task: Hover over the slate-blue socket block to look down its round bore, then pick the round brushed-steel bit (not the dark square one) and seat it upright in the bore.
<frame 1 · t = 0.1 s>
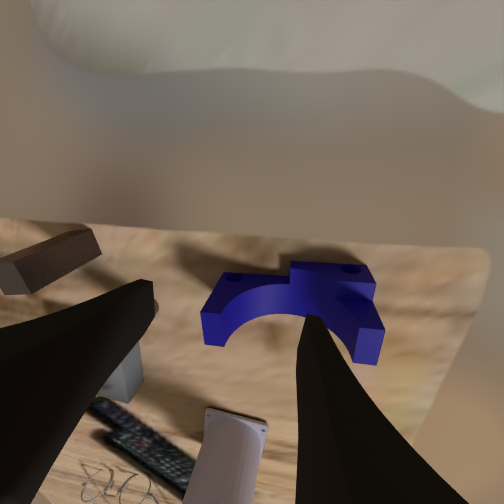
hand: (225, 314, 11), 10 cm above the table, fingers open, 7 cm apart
blue arched block: (290, 281, 22), on the table
eyeglasses: (142, 493, 47), on the table
square bit: (85, 242, 24), on the table
socket block: (106, 347, 30), on the table
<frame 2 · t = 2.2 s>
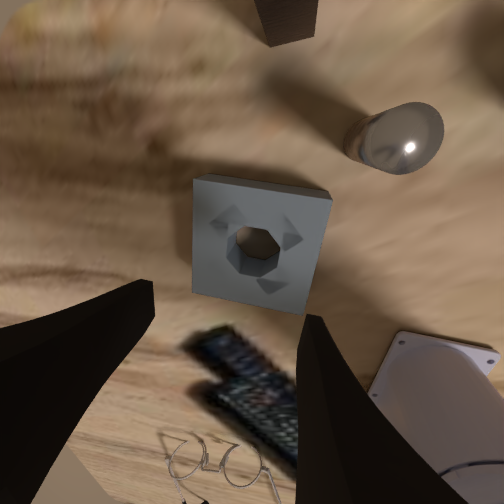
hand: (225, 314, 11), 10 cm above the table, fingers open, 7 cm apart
eyeglasses: (233, 472, 37), on the table
round bit: (364, 140, 16), on the table
square bit: (289, 14, 14), on the table
socket block: (259, 237, 20), on the table
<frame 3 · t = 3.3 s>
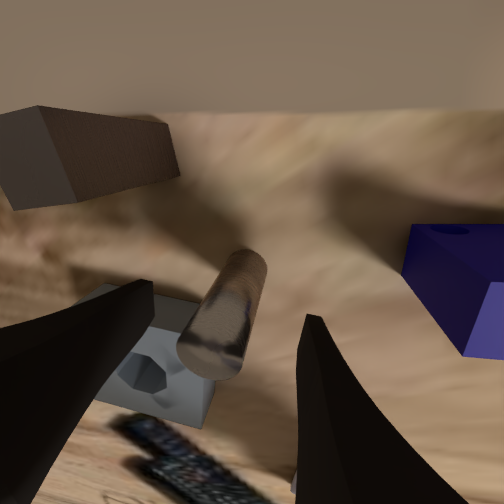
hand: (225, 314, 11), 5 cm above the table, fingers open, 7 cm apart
round bit: (246, 268, 15), on the table
square bit: (153, 154, 14), on the table
socket block: (163, 341, 19), on the table
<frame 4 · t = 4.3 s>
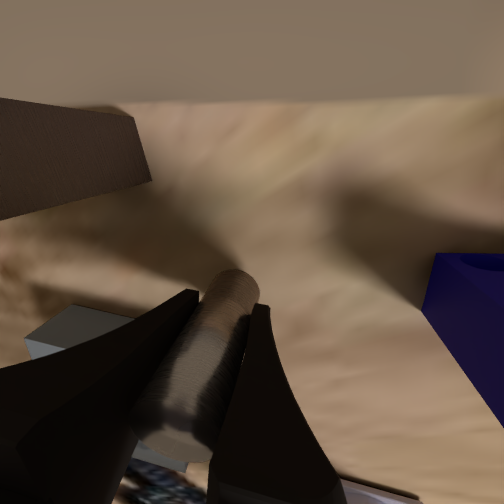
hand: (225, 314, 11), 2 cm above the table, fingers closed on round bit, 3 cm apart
round bit: (235, 291, 13), on the table, touching gripper
square bit: (118, 155, 11), on the table
socket block: (142, 369, 17), on the table
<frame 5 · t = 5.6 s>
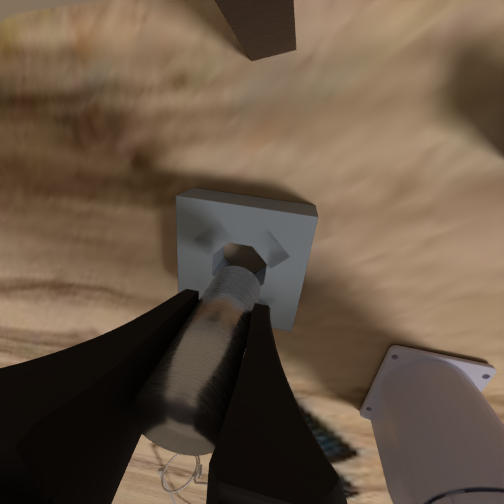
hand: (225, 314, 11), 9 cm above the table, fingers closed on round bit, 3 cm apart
eyeglasses: (229, 482, 37), on the table
round bit: (236, 287, 13), point 7 cm above the table, touching gripper
square bit: (270, 27, 14), on the table
socket block: (247, 251, 20), on the table
when the fingers open (4 cm above the table, at t = 7.2 s): round bit drops 2 cm, resting in socket block.
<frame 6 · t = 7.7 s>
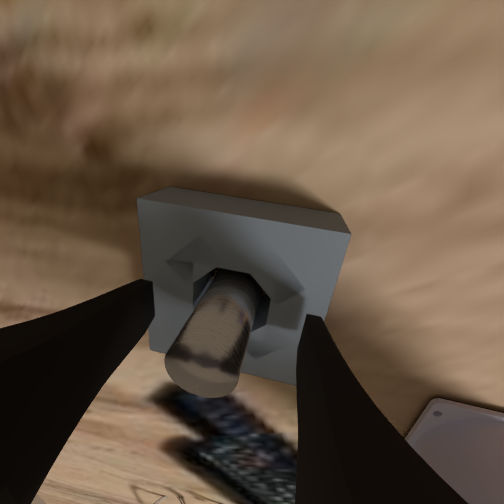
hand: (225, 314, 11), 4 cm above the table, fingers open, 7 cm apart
round bit: (244, 271, 14), resting in socket block
socket block: (243, 274, 15), on the table
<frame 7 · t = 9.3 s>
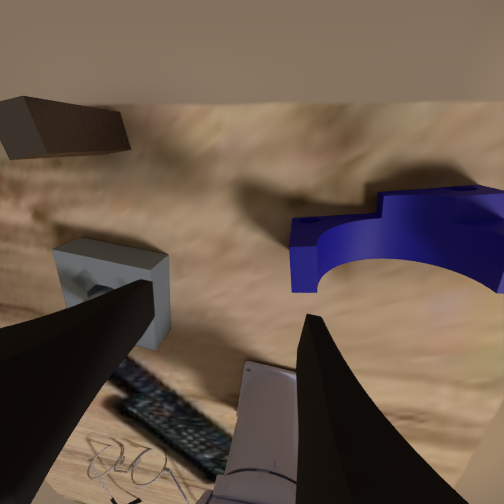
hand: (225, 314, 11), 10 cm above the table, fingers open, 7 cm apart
blue arched block: (374, 221, 18), on the table
eyeglasses: (156, 472, 42), on the table
square bit: (111, 134, 19), on the table
socket block: (128, 285, 25), on the table
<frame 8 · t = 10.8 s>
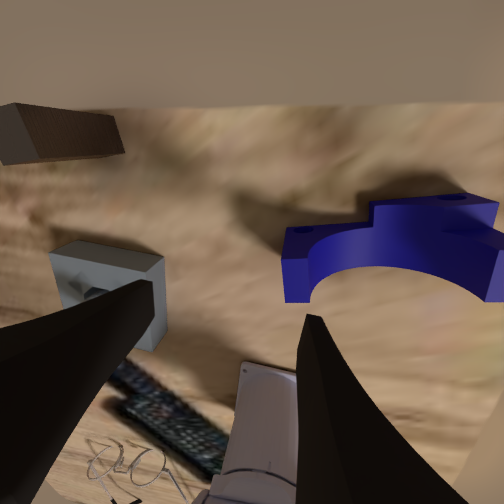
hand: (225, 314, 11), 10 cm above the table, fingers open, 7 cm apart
blue arched block: (366, 229, 19), on the table
eyeglasses: (155, 473, 42), on the table
square bit: (105, 138, 19), on the table
socket block: (124, 287, 25), on the table
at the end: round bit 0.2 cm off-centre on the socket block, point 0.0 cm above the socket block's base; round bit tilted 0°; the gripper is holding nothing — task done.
